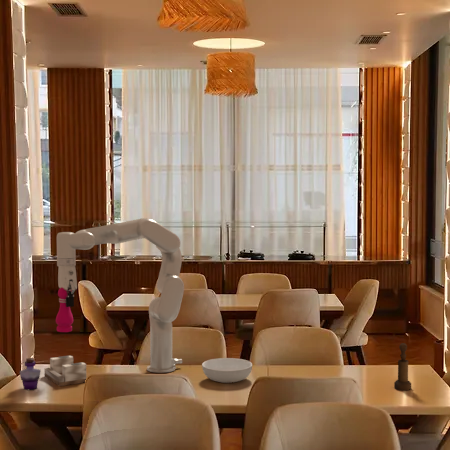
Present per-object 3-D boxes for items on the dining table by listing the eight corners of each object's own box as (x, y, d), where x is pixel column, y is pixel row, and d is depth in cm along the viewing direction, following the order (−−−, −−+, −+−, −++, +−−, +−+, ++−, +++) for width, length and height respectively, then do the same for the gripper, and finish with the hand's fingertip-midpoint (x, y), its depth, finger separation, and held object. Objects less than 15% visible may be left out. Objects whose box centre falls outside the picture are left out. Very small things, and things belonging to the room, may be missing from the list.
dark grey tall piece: (413, 387, 306) (414, 342, 305) (408, 391, 300) (409, 345, 299) (397, 385, 309) (397, 341, 308) (392, 389, 304) (392, 344, 303)
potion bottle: (24, 385, 311) (24, 355, 310) (45, 385, 309) (44, 356, 308) (15, 390, 302) (15, 360, 301) (36, 391, 301) (35, 361, 300)
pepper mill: (69, 333, 314) (70, 284, 313) (52, 331, 316) (53, 283, 314) (75, 329, 321) (77, 282, 320) (59, 328, 323) (60, 281, 322)
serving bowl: (193, 383, 313) (193, 366, 312) (215, 371, 332) (215, 356, 331) (240, 389, 304) (240, 372, 304) (260, 376, 323) (260, 360, 323)
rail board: (71, 372, 330) (71, 354, 330) (87, 381, 315) (87, 363, 315) (44, 376, 324) (44, 358, 323) (59, 386, 309) (59, 367, 308)
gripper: (82, 263, 312) (83, 307, 313) (67, 259, 326) (68, 302, 327) (65, 264, 308) (65, 309, 309) (50, 260, 322) (51, 303, 323)
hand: (67, 305), depth 318 cm, fingers closed on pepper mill, 5 cm apart
